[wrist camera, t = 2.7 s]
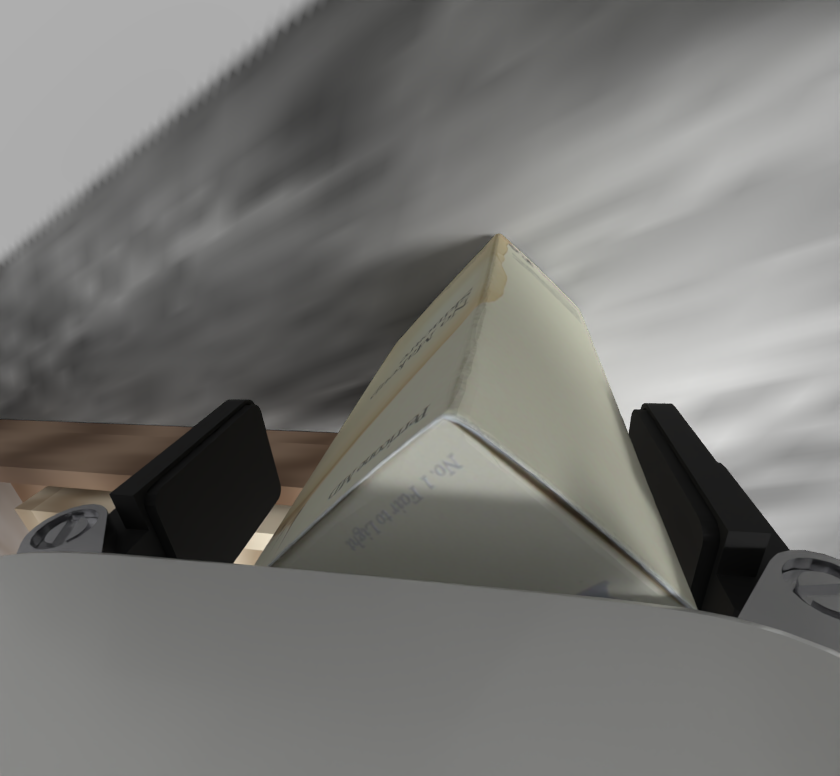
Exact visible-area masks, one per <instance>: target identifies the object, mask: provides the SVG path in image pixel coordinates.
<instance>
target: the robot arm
mask: <svg viewBox="0 0 840 776" xmlns="http://www.w3.org/2000/svg"><path fill="white" fill-rule="evenodd" d="M629 437H630V439H631V442H632V444H633V447H634V450H635V452H636V455H637V458H638V460H639V463H640V465H641V468H642V470H643V473H644V475H645V478H646V481H647V484H648V486H649V488H650V491H651V493H652V495H653V498H654V501H655V504H656V506H657V509H658V511H659V513H660V516H661V518H662V521H663V523H664V526H665V528H666V531H667V533H668V536H669V538H670V541H671V543H672V546H673V548H674V551H675V553H676V556H677V558H678V561H679V563H680V566H681V568H682V571H683V573H684V576H685V578H686V581H687V583H688V586H689V588H690V591H691V593H692V596H693V598H694V601H695V603H696V606H697V609H698V610H695V609H690V608H683V607H675V606H667V605H659V604H651V603H643V602H635V601H627V600H620V599H612V598H603V597H592V596H582V595H571V594H561V593H550V592H540V591H529V590H519V589H509V588H498V587H488V586H477V585H467V584H456V583H445V582H435V581H424V580H413V579H402V578H391V577H380V576H369V575H358V574H347V573H336V572H325V571H314V570H302V569H291V568H280V567H268V566H257V565H246V564H234V562H235V560H236V559H237V557H238V556H239V555H240V553H241V552H242V550H243V549H244V548H245V546H246V545H247V543H248V542H249V540H250V539H251V538H252V536H253V535H254V533H255V532H256V531H257V529H258V528H259V526H260V525H261V523H262V522H263V521H264V519H265V518H266V516H267V515H268V514H269V512H270V511H271V509H272V508H273V506H274V505H275V504H276V502H277V501H278V499H279V497H280V494H281V484H280V481H279V477H278V473H277V469H276V466H275V462H274V458H273V454H272V451H271V447H270V443H269V439H268V436H267V432H266V428H265V425H264V421H263V417H262V413H261V410H260V408H259V407H258V406H257V405H255V404H254V403H253V401H251V400H227V401H226V402H224V403H223V404H222V405H221V406H219V407H218V408H217V409H216V410H214V411H213V412H212V413H211V414H209V415H208V416H207V417H205V418H204V419H203V420H202V421H200V422H199V423H198V424H197V425H195V426H194V427H193V428H192V429H190V430H189V431H188V432H187V433H185V434H184V435H183V436H182V437H180V438H179V439H178V440H177V441H175V442H174V443H173V444H171V445H170V446H169V447H168V448H166V449H165V450H164V451H163V452H161V453H160V454H159V455H158V456H156V457H155V458H154V459H153V460H151V461H150V462H149V463H148V464H146V465H145V466H144V467H142V468H141V469H140V470H139V471H137V472H136V473H135V474H134V475H132V476H131V477H130V478H129V479H127V480H126V481H125V482H124V483H122V484H121V485H120V486H119V487H117V488H116V489H115V490H114V491H112V492H111V493H110V494H109V495H110V497H111V499H112V501H113V503H114V505H115V509H114V510H113V511H111V512H110V513H108V511H107V509H106V508H105V507H104V506H102V505H97V504H88V505H81V506H77V507H73V508H70V509H67V510H65V511H62V512H60V513H57V514H56V515H54V516H52V517H50V518H48V519H46V520H44V521H43V522H41V523H40V524H39V525H37V526H36V527H34V528H33V529H32V530H31V531H30V532H29V533H28V534H27V535H26V536H25V537H24V539H23V540H22V542H21V544H20V546H19V549H18V551H17V554H12V555H4V556H0V776H840V560H839V559H836V558H833V557H830V556H828V555H825V554H821V553H816V552H811V551H806V550H789V549H788V547H787V546H786V545H785V543H784V542H783V541H782V540H781V538H780V537H779V536H778V534H777V533H776V532H775V531H774V529H773V528H772V527H771V525H770V524H769V523H768V522H767V520H766V519H765V518H764V516H763V515H762V514H761V512H760V511H759V510H758V509H757V507H756V506H755V505H754V503H753V502H752V501H751V500H750V498H749V497H748V496H747V494H746V493H745V492H744V491H743V489H742V488H741V487H740V485H739V484H738V483H737V482H736V480H735V479H734V478H733V476H732V475H731V474H730V473H729V471H728V470H727V469H726V468H725V467H724V466H723V465H722V464H721V463H718V462H717V461H716V460H715V459H714V457H713V456H712V455H711V453H710V452H709V451H708V450H707V448H706V447H705V446H704V444H703V443H702V442H701V440H700V439H699V438H698V436H697V435H696V434H695V432H694V431H693V430H692V428H691V427H690V426H689V425H688V423H687V422H686V421H685V419H684V418H683V417H682V415H681V414H680V413H679V411H678V410H677V409H676V407H675V406H674V405H673V404H656V403H644V404H643V405H642V407H641V409H640V410H633V412H632V416H631V422H630V428H629Z"/></svg>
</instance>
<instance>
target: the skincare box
mask: <svg viewBox="0 0 840 776" xmlns="http://www.w3.org/2000/svg"><path fill="white" fill-rule="evenodd" d="M254 565H257V566H268V567H280V568H291V569H302V570H314V571H325V572H336V573H347V574H358V575H369V576H380V577H391V578H402V579H413V580H424V581H435V582H445V583H456V584H467V585H477V586H488V587H498V588H509V589H519V590H529V591H540V592H550V593H561V594H571V595H582V596H592V597H603V598H612V599H620V600H627V601H635V602H643V603H651V604H659V605H667V606H675V607H683V608H690V609H695V610H698V609H697V606H696V603H695V601H694V598H693V596H692V593H691V591H690V588H689V586H688V583H687V581H686V578H685V576H684V573H683V571H682V568H681V566H680V563H679V561H678V558H677V556H676V553H675V551H674V548H673V546H672V543H671V541H670V538H669V536H668V533H667V531H666V528H665V526H664V523H663V521H662V518H661V516H660V513H659V511H658V509H657V506H656V504H655V501H654V498H653V495H652V493H651V491H650V488H649V486H648V484H647V481H646V478H645V475H644V473H643V470H642V468H641V465H640V463H639V460H638V458H637V455H636V452H635V450H634V447H633V444H632V442H631V439H630V437H629V434H628V432H627V429H626V426H625V424H624V421H623V418H622V416H621V414H620V412H619V409H618V406H617V404H616V401H615V399H614V396H613V394H612V391H611V388H610V385H609V383H608V381H607V378H606V376H605V373H604V370H603V368H602V366H601V363H600V361H599V358H598V355H597V353H596V350H595V348H594V346H593V343H592V340H591V337H590V335H589V332H588V329H587V327H586V324H585V322H584V319H583V317H582V314H581V312H580V310H579V309H578V307H577V306H576V305H575V304H574V303H573V302H572V301H571V300H570V299H569V298H568V297H567V296H566V295H565V294H564V293H563V292H562V291H561V290H560V289H559V288H558V287H557V286H556V285H555V284H554V283H553V282H552V281H551V280H550V279H549V278H548V277H547V276H546V275H545V274H544V273H543V272H542V271H541V270H540V269H539V268H538V267H537V266H536V265H535V264H534V263H532V262H531V261H530V260H529V259H528V258H527V257H526V256H525V255H524V254H523V253H522V252H521V251H520V250H518V249H517V248H516V247H515V246H514V245H513V244H512V243H511V242H510V241H508V240H507V239H506V238H505V237H504V236H503V235H502V234H496V235H495V236H494V237H493V238H492V239H491V240H490V241H489V242H488V243H487V244H486V245H485V246H484V248H483V249H482V250H481V251H480V252H479V253H478V254H477V255H476V256H475V257H474V258H473V259H472V260H471V261H470V262H469V263H468V264H467V265H466V266H465V268H464V269H463V270H462V271H461V272H460V273H459V274H458V275H457V276H456V277H455V278H454V279H453V280H452V281H451V283H450V284H449V285H448V286H447V287H446V288H445V289H444V290H443V291H442V292H441V293H440V295H439V296H438V297H437V298H436V299H435V300H434V301H433V302H432V303H431V305H430V306H429V307H428V308H427V309H426V310H425V311H424V312H423V314H422V315H421V316H420V317H419V318H418V319H417V320H416V321H415V323H414V324H413V325H412V326H411V327H410V328H409V329H408V330H407V332H406V333H405V334H404V335H403V336H402V337H401V338H400V339H399V340H398V342H397V343H396V344H395V346H394V347H393V349H392V350H391V352H390V353H389V355H388V356H387V358H386V359H385V361H384V362H383V364H382V366H381V367H380V369H379V370H378V372H377V373H376V375H375V376H374V378H373V379H372V381H371V382H370V384H369V386H368V387H367V389H366V390H365V392H364V393H363V395H362V397H361V398H360V400H359V401H358V403H357V404H356V406H355V407H354V409H353V410H352V412H351V414H350V415H349V417H348V418H347V420H346V422H345V423H344V425H343V426H342V428H341V430H340V431H339V433H338V434H337V436H336V437H335V439H334V440H333V442H332V443H331V445H330V447H329V448H328V450H327V451H326V453H325V454H324V456H323V458H322V459H321V461H320V462H319V464H318V465H317V467H316V469H315V470H314V472H313V473H312V475H311V476H310V478H309V480H308V481H307V483H306V484H305V486H304V487H303V489H302V491H301V492H300V494H299V495H298V497H297V498H296V500H295V502H294V503H293V505H292V506H291V508H290V509H289V511H288V513H287V514H286V516H285V517H284V519H283V521H282V522H281V524H280V525H279V527H278V528H277V530H276V532H275V533H274V535H273V536H272V538H271V539H270V541H269V542H268V544H267V545H266V547H265V549H264V550H263V552H262V553H261V555H260V556H259V558H258V560H257V561H256V563H255V564H254Z"/></svg>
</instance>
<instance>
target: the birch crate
mask: <svg viewBox="0 0 840 776" xmlns="http://www.w3.org/2000/svg"><path fill="white" fill-rule="evenodd" d="M111 492H112V491H103V490H91V489H79V488H66V487H54V486H47V487H45V488H44V489H43V490H41V491H40V492H38V493H37V494H35V495H34V496H32V497H31V498H29V499H28V500H26V501H25V502H23V503H22V504H21V505H19V506H18V507H16V508H15V511H16V512H17V514H18V515H19V517H20V518H21V520H22V521H23V523H24V524H25V526H26V527H27V529H28V530H29V532H30V531H31V530H32V529H33V528H34V527H36V526H37V525H39V524H40V523H41V522H43V521H44V520H46V519H48V518H50V517H52V516H54V515H56V514H57V513H60V512H62V511H65V510H67V509H70V508H73V507H77V506H81V505H88V504H97V505H102V506H104V507H105V508H106V509H107V511H108V513H110V512H111V511H113V510H114V509H115V505H114V503H113V501H112V499H111V497H110V495H109V494H110V493H111ZM290 508H291V506H287V505H274V506H273V508H272V509H271V511H270V512H269V514H268V515H267V516H266V518H265V519H264V521H263V522H262V523H261V525H260V526H259V528H258V529H257V531H256V532H255V533H254V535H253V536H252V538H251V539H250V540H249V542H248V543H247V545H246V546H245V548H244V549H243V550H242V552H241V553H240V555H239V556H238V557H237V559H236V560H235V562H234V564H246V565H254V564H255V563H256V561H257V560H258V558H259V556H260V555H261V553H262V552H263V550H264V549H265V547H266V545H267V544H268V542H269V541H270V539H271V538H272V536H273V535H274V533H275V532H276V530H277V528H278V527H279V525H280V524H281V522H282V521H283V519H284V517H285V516H286V514H287V513H288V511H289V509H290Z"/></svg>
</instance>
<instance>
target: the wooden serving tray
mask: <svg viewBox="0 0 840 776" xmlns="http://www.w3.org/2000/svg"><path fill="white" fill-rule="evenodd" d="M192 428H193V427H175V426H151V425H126V424H101V423H77V422H52V421H27V420H3V419H0V556H4V555H12V554H17V551H18V549H19V546H20V544H21V542H22V540H23V539H24V537H25V536H26V535H27V534H28V533H29V530H28V529H27V527H26V526H25V524H24V523H23V521H22V520H21V518H20V517H19V515H18V514H17V512H16V511H15V508H16V507H18V506H19V505H21V504H22V503H23V502H25V501H26V500H28V499H29V498H31V497H32V496H34V495H35V494H37V493H38V492H40V491H41V490H43V489H44V488H45V487H47V486H54V487H66V488H79V489H91V490H103V491H114V490H115V489H116V488H117V487H119V486H120V485H121V484H122V483H124V482H125V481H126V480H127V479H129V478H130V477H131V476H132V475H134V474H135V473H136V472H137V471H139V470H140V469H141V468H142V467H144V466H145V465H146V464H148V463H149V462H150V461H151V460H153V459H154V458H155V457H156V456H158V455H159V454H160V453H161V452H163V451H164V450H165V449H166V448H168V447H169V446H170V445H171V444H173V443H174V442H175V441H177V440H178V439H179V438H180V437H182V436H183V435H184V434H185V433H187V432H188V431H189V430H190V429H192ZM266 432H267V436H268V439H269V443H270V447H271V451H272V454H273V458H274V462H275V466H276V469H277V473H278V477H279V481H280V484H281V494H280V497H279V499H278V501H277V502H276V504H275V505H287V506H292V505H293V503H294V502H295V500H296V498H297V497H298V495H299V494H300V492H301V491H302V489H303V487H304V486H305V484H306V483H307V481H308V480H309V478H310V476H311V475H312V473H313V472H314V470H315V469H316V467H317V465H318V464H319V462H320V461H321V459H322V458H323V456H324V454H325V453H326V451H327V450H328V448H329V447H330V445H331V443H332V442H333V440H334V439H335V437H336V436H337V434H338V433H324V432H299V431H274V430H266Z"/></svg>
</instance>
